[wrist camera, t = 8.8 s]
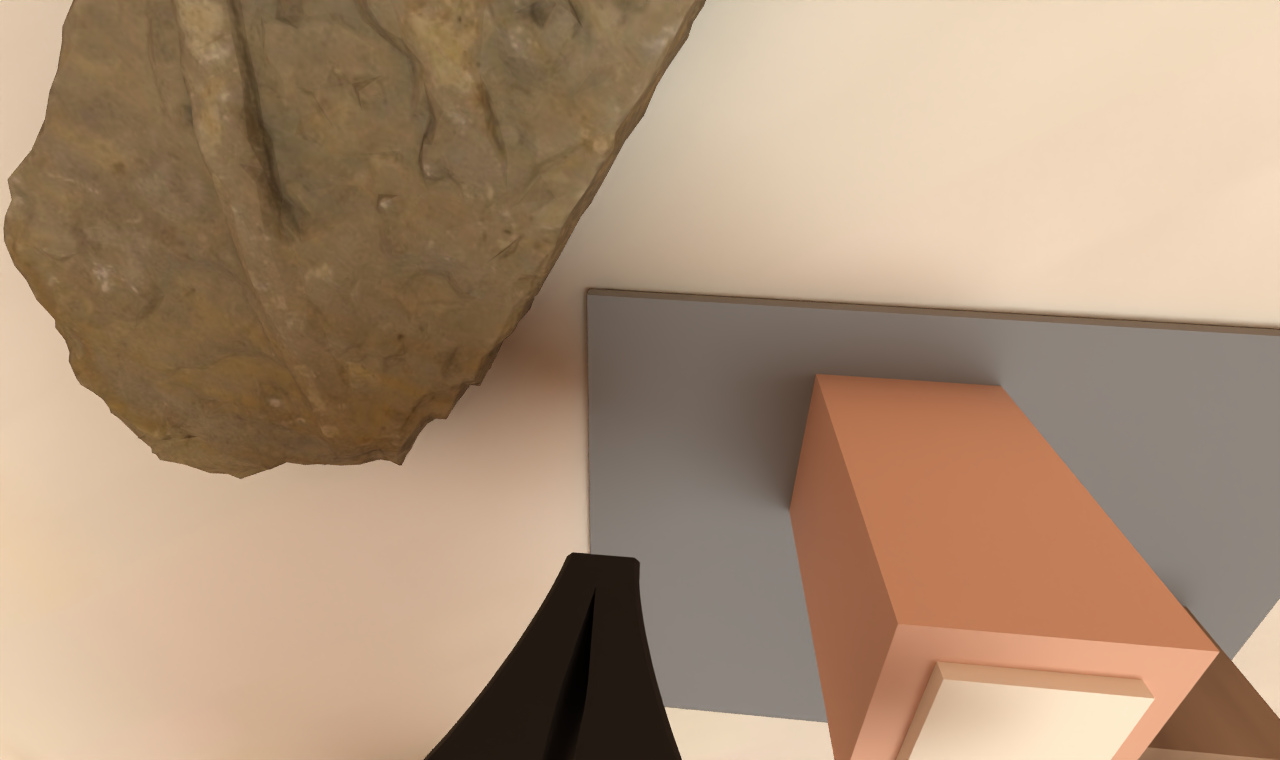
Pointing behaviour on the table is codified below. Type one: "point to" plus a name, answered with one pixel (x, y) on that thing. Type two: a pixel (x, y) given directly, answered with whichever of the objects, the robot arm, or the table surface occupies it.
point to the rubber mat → (924, 351)
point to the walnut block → (1219, 719)
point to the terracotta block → (974, 586)
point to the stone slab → (316, 205)
